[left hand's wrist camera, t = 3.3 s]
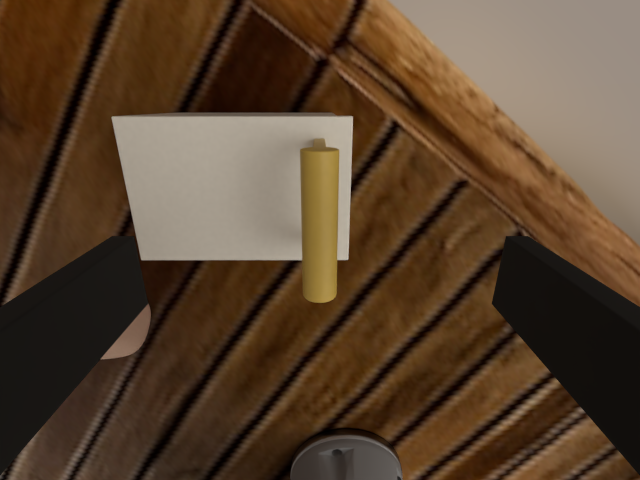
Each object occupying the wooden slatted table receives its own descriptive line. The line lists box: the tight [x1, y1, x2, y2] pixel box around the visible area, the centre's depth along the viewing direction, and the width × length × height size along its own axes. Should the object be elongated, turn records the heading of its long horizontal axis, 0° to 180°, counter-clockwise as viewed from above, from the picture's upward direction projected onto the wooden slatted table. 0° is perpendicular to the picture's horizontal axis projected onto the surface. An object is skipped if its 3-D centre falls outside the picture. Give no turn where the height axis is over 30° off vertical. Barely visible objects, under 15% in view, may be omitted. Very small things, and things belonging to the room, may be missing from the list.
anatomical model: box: [101, 304, 151, 359], centre depth 37 cm, size 13×4×12 cm
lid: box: [112, 116, 353, 303], centre depth 20 cm, size 15×10×9 cm, turn 90°
